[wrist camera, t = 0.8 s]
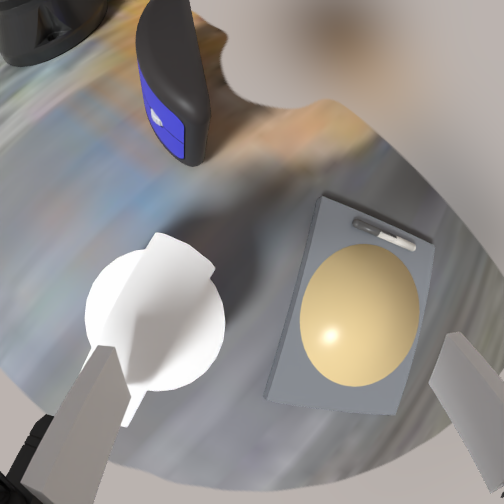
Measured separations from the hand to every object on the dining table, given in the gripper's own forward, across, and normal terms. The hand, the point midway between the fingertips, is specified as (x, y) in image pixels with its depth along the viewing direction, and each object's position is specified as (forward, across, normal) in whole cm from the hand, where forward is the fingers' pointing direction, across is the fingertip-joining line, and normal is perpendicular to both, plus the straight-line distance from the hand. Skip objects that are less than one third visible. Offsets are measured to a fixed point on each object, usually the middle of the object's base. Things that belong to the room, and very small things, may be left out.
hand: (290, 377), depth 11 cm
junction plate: (+15, +9, -7) cm, 19 cm away
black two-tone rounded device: (+22, -8, +13) cm, 26 cm away
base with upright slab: (+12, -9, -5) cm, 16 cm away
